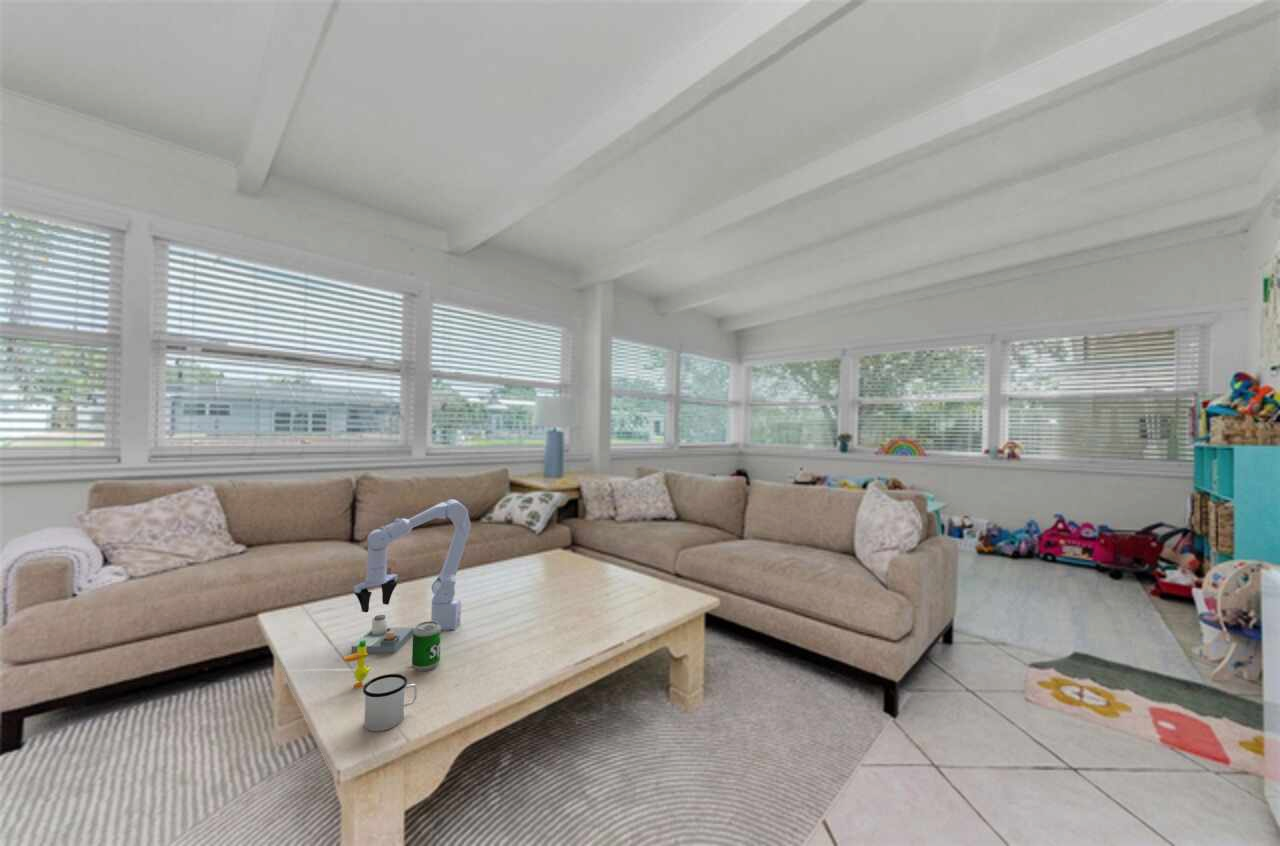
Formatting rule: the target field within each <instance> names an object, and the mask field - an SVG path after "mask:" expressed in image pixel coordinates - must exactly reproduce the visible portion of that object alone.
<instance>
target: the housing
mask: <svg viewBox="0 0 1280 846" xmlns="http://www.w3.org/2000/svg"><path fill="white" fill-rule="evenodd" d="M413 630H414V627H387V632H388V631H395V639H394V640H391V641H386V640H385V636H386V634H385V635H372V628H371V629H370V630H369V631H367V633H366V634H364V635H363V636H362V637H360V638H359V639H358V640H357V641H355V642H354V643H353V644H352V645H351V654H355V653H357V652H358V645H359V644H360V641H362V640H365V641H366V643H365V644H367V645H366V653H367V654H396V653H397V652H398V651H399V649H401V647H402V646H403V645H404V644H405V643H406V642H407V641H408V640H409V639H410V638H411V637H413Z"/></svg>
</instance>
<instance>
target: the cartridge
mask: <svg viewBox="0 0 1280 846" xmlns="http://www.w3.org/2000/svg"><path fill="white" fill-rule="evenodd" d="M371 623H372V625H371V629H372V635H385V634H386V632H387V628H388V616H387V615H385V614H379V615H375V616H374V617H373V618H372V621H371Z"/></svg>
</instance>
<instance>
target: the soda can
mask: <svg viewBox="0 0 1280 846" xmlns="http://www.w3.org/2000/svg"><path fill="white" fill-rule="evenodd" d="M441 631H442V629H441V626H440V625H438V623H437V622H432V621H431V620H430V621H424V622H420V623H418V624H417V625H416V626H415V627H413V634H412V648H411V649H412V655H411V657H412V658H411V666H412V667H413V668H414V669H415V671H418V672H427V671H430V670H432V669H434V668H436V667H437V665H438V664H439V663H440V661H441V639H442V638H441V635H442V634H441V633H442V632H441Z"/></svg>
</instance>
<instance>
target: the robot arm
mask: <svg viewBox="0 0 1280 846" xmlns="http://www.w3.org/2000/svg"><path fill="white" fill-rule="evenodd" d="M446 517H447V518H448V519H450V521H451V522H452V524H453V526H454V528H455V530H454V533H453V534H452V539H451V540H450V541H451V542H450V544H449V547H448V550H447V553H446V556H445V560H444V562H443V565H442V568H441V571H440V572H439V573H438V576H437V578H436V579H435V580H434V582H432V585H431V591H432V593H433V597H432V599H431V614H430V615H431V616H430V621H432V622H437V623H438V625H440V626H441V630H449V631H451V630H455V629H457V627H458V626H459V624H460V623H461V622H462V620H461V615H462V614H461V611H462V610H461V609H462V604H461V600H457V599H455V598H454V597H455V594H456V591H455V590H456V589H455V587H456V586H455V585H456V582H457V581H456V576H457V573H458V572H457V571H458V569H459V566H460V563H461V561H462V557H463V554H464V551H465V547H466V544H467V541H468V538H469V536H470V532H471V529H472V522H471V520H470V519H471V518H470V516H469V510H468V509H467V507H466V506H465V505H464V504H462V503H460V501H458V500H456V499H454V498H453V499H452V498H451V499H448V500H446V501H442V502H439V503H438V504H435V505H434V506H432V507H430V508H428V509H426V510H424V511H422V512H420V513H419V514H416V515H414V516H412V517H410V518H407V519H406V518H404V517H403V518H399V517H398V518H395V519H394V521H393V522H391V523H389V524H387V525H385V526H384V525H382V526H380V527H379V529H378V528H377V529H374V530H371V532H370V533H369V534H368V535H367V538H366V541H367V544H368V548H367V552H368V553H367V557H366V561H367V562H366V579H365V580H364V581H363V582H361V583H358V584H355V585H354V586H353V592H354V595H355V596H356V598H357V599H358V602H359V604H360V609H361V612H362V613H368V612H369V610H370V601H371V600H370V599H371V597H372V593H373V591H370V590H368V589H372V588H374V587H378V586H381V593H382V597H381V599H382V604H383V605H390V602H391V601H390V600H391V597H392V594H393V592H394V591H395V588H396V587H397V586H398V582H397V581H398V574H396V573H391V574H387V562H388V559H387V558H388V551H387V546H388V544H389V543H392V542H394V541H396V540H399V539H401V538H403V537H405V536H407V535H409V534H410V533H411V532H412V529H413V528H415V527H418V526H420V525H422V524H424V523H425V524H426V523H428V522H429V521H432V520H435V519H443V520H446V519H447V518H446Z"/></svg>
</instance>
